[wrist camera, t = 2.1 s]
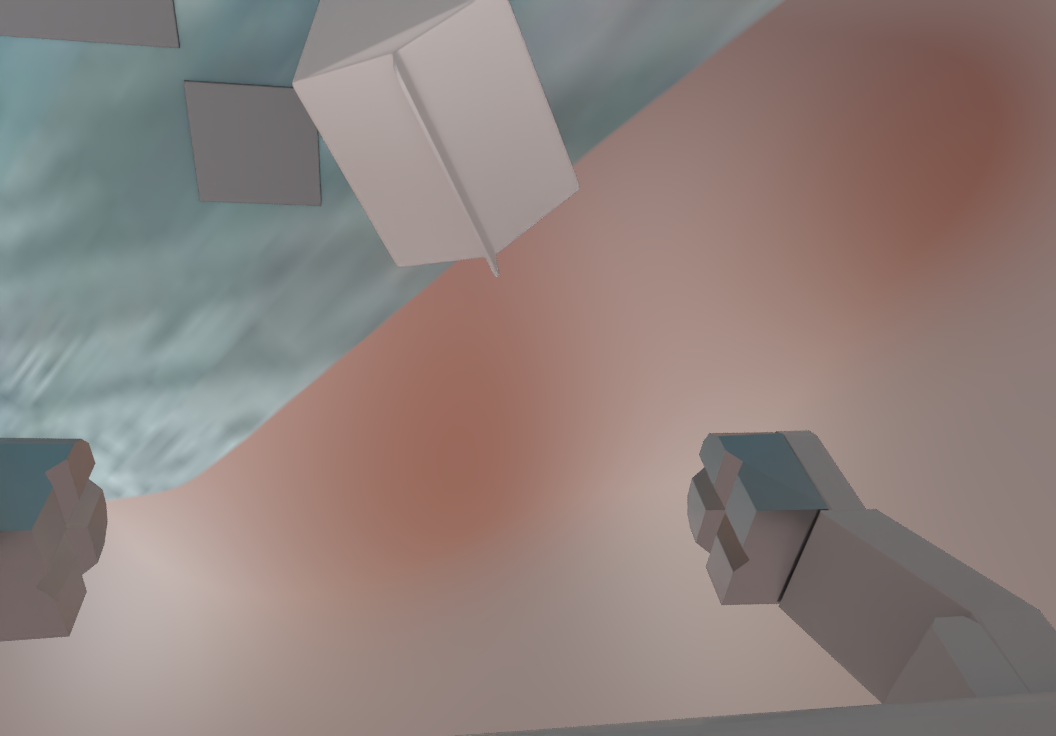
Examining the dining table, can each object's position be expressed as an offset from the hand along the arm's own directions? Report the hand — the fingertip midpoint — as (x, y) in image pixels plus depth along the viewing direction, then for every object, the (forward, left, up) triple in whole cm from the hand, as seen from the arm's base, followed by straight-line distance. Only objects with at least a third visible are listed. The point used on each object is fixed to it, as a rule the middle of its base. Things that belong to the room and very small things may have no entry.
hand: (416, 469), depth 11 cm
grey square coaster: (+7, +8, -32) cm, 34 cm away
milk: (-1, 0, -32) cm, 32 cm away
